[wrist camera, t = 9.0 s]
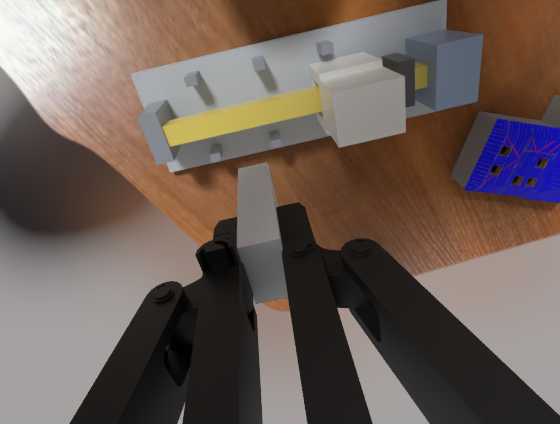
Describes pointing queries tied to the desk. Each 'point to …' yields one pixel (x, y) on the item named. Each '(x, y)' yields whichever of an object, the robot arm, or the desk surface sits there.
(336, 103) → the sleeve
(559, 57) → the desk surface
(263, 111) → the comb rig
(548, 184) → the house
